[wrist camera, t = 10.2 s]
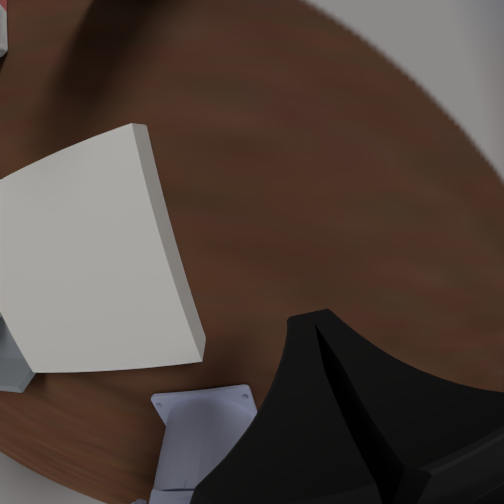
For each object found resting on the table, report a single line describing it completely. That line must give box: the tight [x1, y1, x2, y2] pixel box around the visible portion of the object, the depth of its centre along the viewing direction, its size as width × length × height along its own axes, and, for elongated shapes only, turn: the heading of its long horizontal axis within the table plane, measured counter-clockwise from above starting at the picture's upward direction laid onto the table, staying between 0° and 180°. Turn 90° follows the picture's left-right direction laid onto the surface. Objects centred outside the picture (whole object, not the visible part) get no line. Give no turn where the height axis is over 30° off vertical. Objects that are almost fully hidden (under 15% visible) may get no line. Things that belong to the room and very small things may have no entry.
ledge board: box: [0, 123, 206, 373], centre depth 18 cm, size 14×14×2 cm
